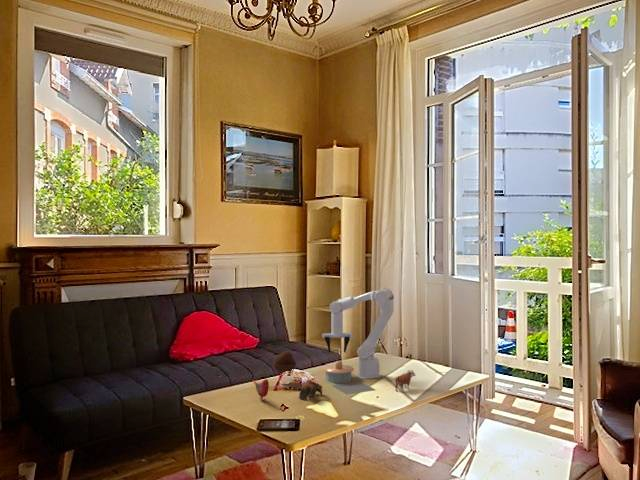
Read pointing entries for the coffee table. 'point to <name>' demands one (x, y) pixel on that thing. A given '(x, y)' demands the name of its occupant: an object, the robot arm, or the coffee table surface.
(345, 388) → the mat
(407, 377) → the bull figurine
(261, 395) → the decorative bird figurine
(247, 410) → the coffee table surface
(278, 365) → the dark brown rounded lump
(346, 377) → the bowl
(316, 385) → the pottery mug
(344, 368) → the lid
